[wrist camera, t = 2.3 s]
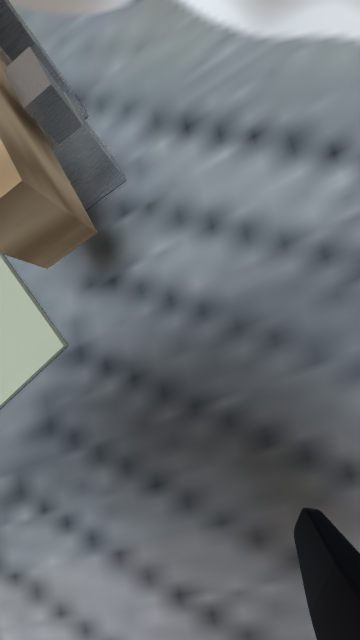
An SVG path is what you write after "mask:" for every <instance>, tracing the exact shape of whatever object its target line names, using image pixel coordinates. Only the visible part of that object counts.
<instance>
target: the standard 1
mask: <svg viewBox="0 0 360 640" xmlns="http://www.w3.org/2000/svg"><path fill="white" fill-rule="evenodd" d="M28 47H30V48H31V49H32V51H33V52H34V53H35V55H36V56H37V57H38V59H39V60H40V61H41V63H42V64H43V65H44V67H45V68H46V69H47V71H48V72H49V73H50V75H51V76H52V77H53V79H54V80H55V81H56V83H57V84H58V85H59V87H60V88H61V89H62V91H63V92H65V93H66V95H67V96H68V97H69V99H70V100H71V101H72V103H73V104H74V105H75V107H76V108H77V110H78V111H79V112H80V114H81V115H82V116H83V118H84V119H85V118H86V117H88V115H87V113H86V112H85V110H84V108H83V106H82V105H81V103H80V101H79V100H78V98H77V96H76V95H75V93H74V92H73V90H72V89H71V87H70V86H69V84H68V83H67V82H66V80H65V79H64V77H63V76H62V74H61V73H60V72H59V70H58V69H57V67H56V66H55V64H54V63H53V62H52V60H51V59H50V57H49V56H48V54H47V53H46V52H45V50H44V49H43V47H42V46H41V44H40V43H39V42H38V40H37V39H36V37H35V36H34V35H33V33H32V32H31V30H30V29H29V27H28V26H27V25H26V23H25V22H24V20H23V19H22V17H21V16H20V15H19V14H18V13H17V12H16V10H15V9H14V8H13V6H12V5H11V3H10V2H9V0H0V55H1V57H2V59H3V61H4V63H5V65H6V66H8V65H10V64H11V63H12V62H13V61H14V60H15V59H16V58H17V57H18V56H19V55H20V54H22V53H23V52H24V51H25V50H26V49H27V48H28Z"/></svg>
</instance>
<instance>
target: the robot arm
mask: <svg viewBox="0 0 360 640" xmlns="http://www.w3.org/2000/svg"><path fill="white" fill-rule="evenodd" d="M294 539H295V544H296V549H297V554H298V559H299V564H300V569H301V574H302V579H303V584H304V589H305V594H306V599H307V603H308V608H309V612H310V616H311V620H312V624H313V627H314V631H315V634H316V638H317V640H360V553H359V552H358V551H357V550H356V549H355V548H354V547H353V546H352V544H351V543H350V542H349V541H348V540H347V539H346V538H345V537H344V536H343V535H342V534H341V533H340V531H339V530H338V529H337V528H336V527H335V526H334V525H333V524H332V523H331V522H330V521H329V519H328V518H327V517H326V516H325V515H324V514H323V513H322V512H321V511H320V510H318V509H313V508H303V509H302V510H301V513H300V515H299V518H298V520H297V523H296V525H295V528H294Z"/></svg>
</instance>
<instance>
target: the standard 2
mask: <svg viewBox="0 0 360 640" xmlns="http://www.w3.org/2000/svg"><path fill="white" fill-rule="evenodd" d="M3 71H4V73H5V75H6V77H7V78H8V80H9V82H10V84H11V86H12V88H13V90H14V91H15V93H16V95H17V97H18V99H19V101H20V102H21V104H22V106H23V108H24V109H25V110H26V111H27V112H28V113H29V114H30V115H31V116H32V117H33V118H34V119H35V120H36V121H37V123H38V125H39V127H40V129H41V131H42V132H43V134H44V136H45V138H46V140H47V141H48V143H49V145H50V147H51V149H52V150H53V152H54V154H55V156H56V158H57V160H58V161H59V163H60V165H61V167H62V169H63V171H64V172H65V174H66V176H67V178H68V180H69V182H70V183H71V185H72V187H73V189H74V191H75V193H76V194H77V196H78V198H79V200H80V202H81V203H82V205H83V207H84V209H85V210H87V209H88V208H89V207H91V206H92V205H93V204H95V203H96V202H98V201H99V200H100V199H102V198H103V197H104V196H106V195H107V194H108V193H110V192H111V191H112V190H114V189H115V188H116V187H118V186H119V185H120V184H122V183H123V182H124V181H126V179H125V178H124V176H123V174H122V173H121V171H120V169H119V167H118V166H117V164H116V162H115V161H114V159H113V157H112V156H111V154H110V153H109V151H108V150H107V149H106V147H105V146H104V145H103V143H102V142H101V141H100V139H99V138H98V137H97V135H96V134H95V133H94V131H93V130H92V128H91V127H90V126H89V124H88V123H87V122H86V120H85V119H84V118H83V116H82V115H81V114H80V112H79V111H78V110H77V108H76V107H75V105H74V104H73V103H72V101H71V100H70V99H69V97H68V96H67V95H66V93H65V92H63V91H62V89H61V88H60V87H59V85H58V84H57V83H56V81H55V80H54V79H53V77H52V76H51V75H50V73H49V72H48V71H47V69H46V68H45V67H44V65H43V64H42V63H41V61H40V60H39V59H38V57H37V56H36V55H35V53H34V52H33V51H32V49H31V48H30V47H28V48H27V49H26V50H25V51H24V52H23V53H22V54H20V55H19V56H18V57H17V58H16V59H15V60H14V61H13V62H12V63H11V64H10V65H8V66H7V67H6V68H5V69H4V70H3Z"/></svg>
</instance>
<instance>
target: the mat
mask: <svg viewBox="0 0 360 640" xmlns="http://www.w3.org/2000/svg"><path fill="white" fill-rule="evenodd" d="M67 346H68V345H67V343H66V342H65V341H64V339H63V338H62V336H61V335H60V334H59V332H58V331H57V329H56V328H55V327H54V325H53V324H52V322H51V321H50V320H49V318H48V317H47V315H46V314H45V313H44V311H43V310H42V308H41V307H40V306H39V304H38V303H37V301H36V300H35V299H34V297H33V296H32V294H31V293H30V291H29V290H28V289H27V287H26V286H25V284H24V283H23V282H22V280H21V279H20V277H19V276H18V275H17V273H16V272H15V270H14V269H13V268H12V266H11V265H10V263H9V262H8V261H7V259H6V258H5V256H4V255H3V254H1V253H0V409H1V408H2V407H3V406H4V405H5V404H6V403H7V402H8V401H9V400H10V399H11V398H12V397H13V396H15V395H16V394H17V393H18V392H19V391H20V390H21V389H22V388H23V387H24V386H25V385H26V384H27V383H28V382H30V381H31V380H32V379H33V378H34V377H35V376H36V375H37V374H38V373H39V372H40V371H41V370H42V369H43V368H45V367H46V366H47V365H48V364H49V363H50V362H51V361H52V360H53V359H54V358H55V357H56V356H57V355H58V354H60V353H61V352H62V351H63V350H64V349H65V348H66V347H67Z"/></svg>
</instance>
